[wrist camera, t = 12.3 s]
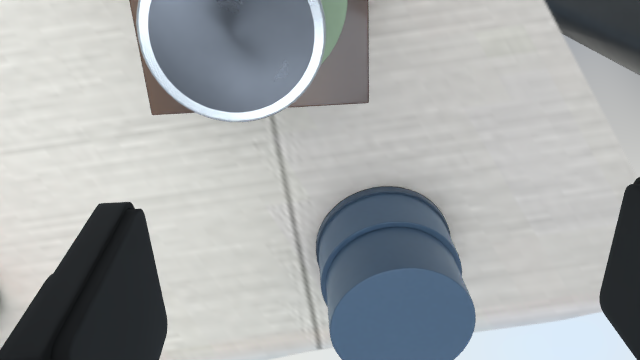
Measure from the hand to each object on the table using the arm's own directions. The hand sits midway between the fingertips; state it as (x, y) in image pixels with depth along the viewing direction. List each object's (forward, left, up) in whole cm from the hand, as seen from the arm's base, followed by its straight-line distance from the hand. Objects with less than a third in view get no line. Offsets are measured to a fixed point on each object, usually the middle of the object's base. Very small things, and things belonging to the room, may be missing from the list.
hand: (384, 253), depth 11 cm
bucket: (-4, +20, -30) cm, 36 cm away
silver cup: (+4, -2, -17) cm, 18 cm away
